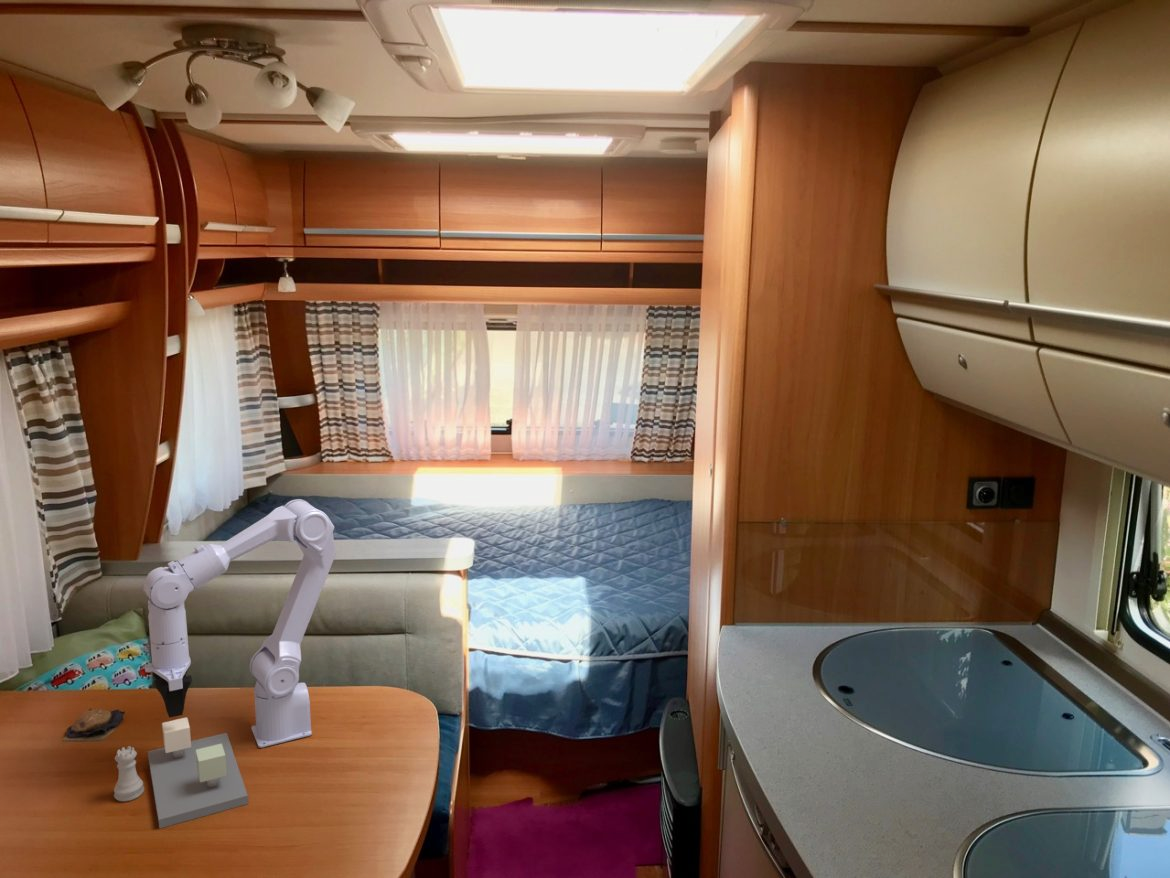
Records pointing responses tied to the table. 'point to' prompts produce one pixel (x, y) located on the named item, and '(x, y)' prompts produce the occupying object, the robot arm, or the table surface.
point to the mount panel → (193, 783)
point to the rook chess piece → (127, 776)
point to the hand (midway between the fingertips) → (174, 711)
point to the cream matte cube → (176, 735)
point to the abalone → (94, 725)
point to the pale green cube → (211, 762)
